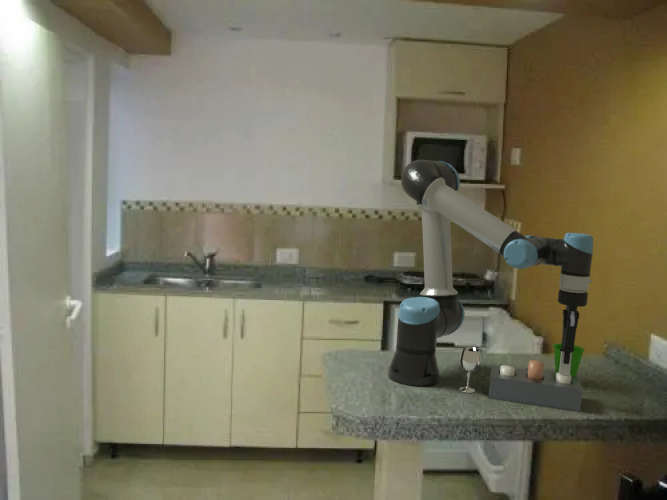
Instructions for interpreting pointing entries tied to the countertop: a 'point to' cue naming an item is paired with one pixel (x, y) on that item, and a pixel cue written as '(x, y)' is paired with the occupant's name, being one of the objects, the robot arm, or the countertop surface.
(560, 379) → the white plug
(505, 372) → the white plug
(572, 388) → the grey socket block
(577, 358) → the cup
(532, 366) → the plug terracotta
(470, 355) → the wineglass
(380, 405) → the countertop surface
